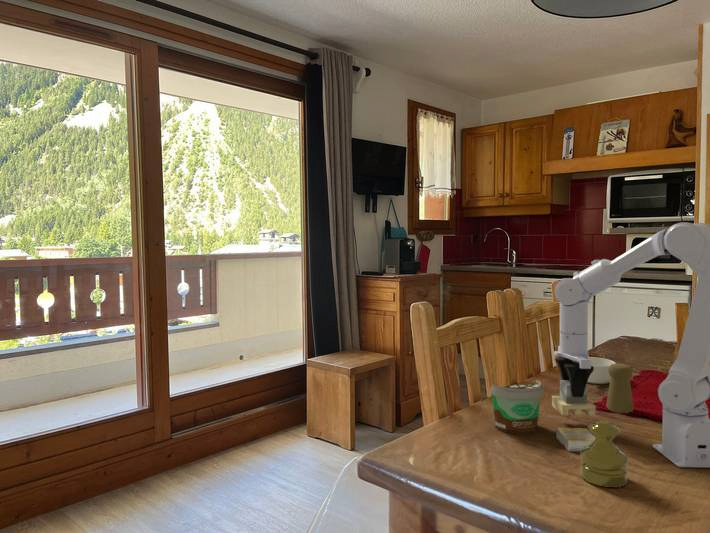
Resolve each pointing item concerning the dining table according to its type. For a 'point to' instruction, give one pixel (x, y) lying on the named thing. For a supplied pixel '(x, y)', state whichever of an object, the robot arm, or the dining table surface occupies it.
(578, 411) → the stacked blocks
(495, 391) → the food container
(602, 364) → the saucepan
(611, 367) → the cork
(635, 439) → the dining table surface
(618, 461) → the olive shiny rounded piece
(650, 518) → the dining table surface
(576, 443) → the dock
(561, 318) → the robot arm
